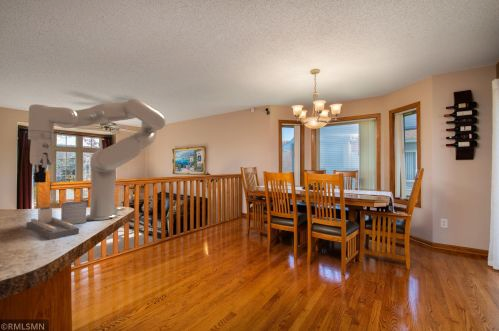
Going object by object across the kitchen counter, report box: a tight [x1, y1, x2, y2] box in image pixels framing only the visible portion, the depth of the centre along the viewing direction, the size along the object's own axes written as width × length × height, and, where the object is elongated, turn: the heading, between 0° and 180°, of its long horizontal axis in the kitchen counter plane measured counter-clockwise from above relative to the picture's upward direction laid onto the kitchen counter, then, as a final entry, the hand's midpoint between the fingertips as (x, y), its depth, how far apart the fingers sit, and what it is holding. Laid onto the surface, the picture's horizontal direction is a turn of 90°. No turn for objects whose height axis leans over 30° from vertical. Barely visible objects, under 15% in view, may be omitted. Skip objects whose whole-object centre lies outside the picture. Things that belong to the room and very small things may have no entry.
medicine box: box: [60, 201, 87, 225], centre depth 94 cm, size 8×4×9 cm, turn 135°
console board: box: [25, 216, 80, 240], centre depth 84 cm, size 8×24×3 cm, turn 58°
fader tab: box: [37, 206, 53, 223], centre depth 87 cm, size 3×3×6 cm
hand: (39, 182), depth 91 cm, fingers closed
